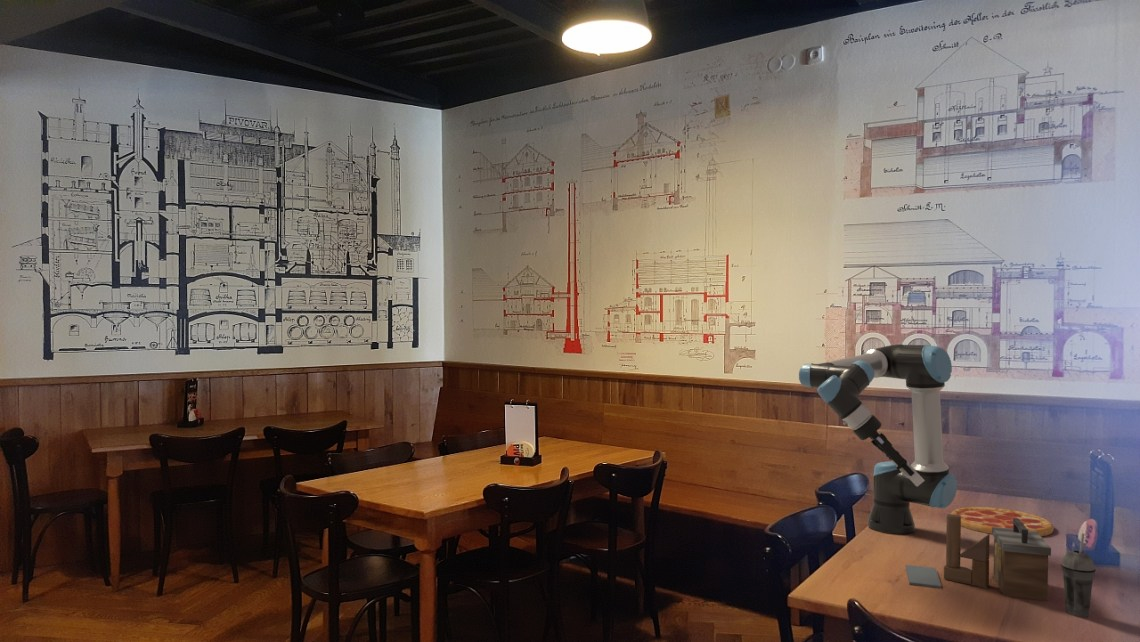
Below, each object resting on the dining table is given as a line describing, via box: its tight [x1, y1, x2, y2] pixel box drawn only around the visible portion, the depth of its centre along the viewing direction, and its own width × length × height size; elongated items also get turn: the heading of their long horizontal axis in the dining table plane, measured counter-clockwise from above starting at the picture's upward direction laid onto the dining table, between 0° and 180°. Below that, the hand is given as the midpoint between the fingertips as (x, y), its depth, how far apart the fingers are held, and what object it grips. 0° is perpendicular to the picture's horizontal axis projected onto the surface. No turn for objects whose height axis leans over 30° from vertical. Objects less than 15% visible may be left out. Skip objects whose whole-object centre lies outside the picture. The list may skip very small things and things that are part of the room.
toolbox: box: [991, 518, 1052, 602], centre depth 209 cm, size 17×11×18 cm, turn 160°
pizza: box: [950, 506, 1055, 538], centre depth 273 cm, size 32×32×3 cm
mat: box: [905, 564, 943, 589], centre depth 217 cm, size 16×8×1 cm, turn 160°
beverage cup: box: [1060, 533, 1096, 618], centre depth 191 cm, size 7×7×20 cm
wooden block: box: [943, 513, 991, 589], centre depth 214 cm, size 4×11×18 cm, turn 49°
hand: (915, 479), depth 218 cm, fingers open, 13 cm apart
